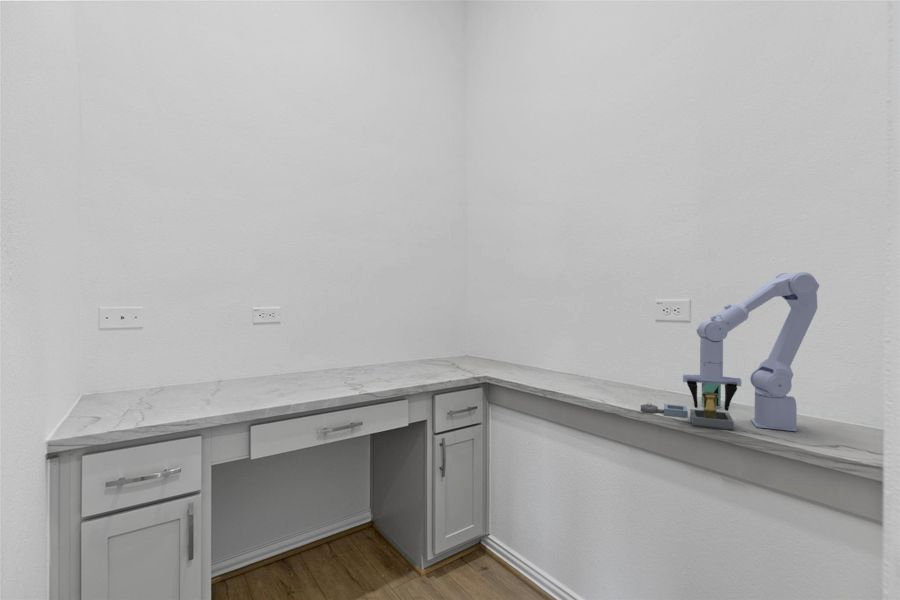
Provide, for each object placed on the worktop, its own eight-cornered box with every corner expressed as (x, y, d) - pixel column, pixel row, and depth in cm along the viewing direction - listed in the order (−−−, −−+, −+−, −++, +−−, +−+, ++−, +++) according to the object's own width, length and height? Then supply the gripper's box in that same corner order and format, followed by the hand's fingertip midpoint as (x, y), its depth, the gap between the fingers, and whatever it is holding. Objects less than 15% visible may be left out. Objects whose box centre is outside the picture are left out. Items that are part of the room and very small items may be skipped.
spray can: (703, 403, 152) (703, 345, 152) (721, 406, 149) (722, 346, 148) (700, 406, 148) (700, 346, 147) (719, 409, 144) (719, 348, 144)
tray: (728, 420, 132) (728, 412, 132) (733, 430, 123) (733, 421, 123) (690, 416, 136) (690, 408, 136) (692, 426, 127) (692, 417, 127)
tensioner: (686, 412, 141) (686, 404, 141) (687, 417, 136) (687, 409, 136) (641, 407, 147) (641, 400, 147) (640, 412, 141) (640, 404, 141)
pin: (716, 419, 131) (716, 392, 131) (718, 423, 127) (719, 395, 127) (700, 418, 133) (701, 391, 132) (703, 422, 129) (703, 394, 129)
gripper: (738, 361, 130) (738, 407, 130) (682, 358, 136) (682, 402, 136) (742, 365, 123) (742, 413, 124) (683, 361, 130) (683, 408, 130)
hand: (710, 408), depth 130 cm, fingers open, 7 cm apart
